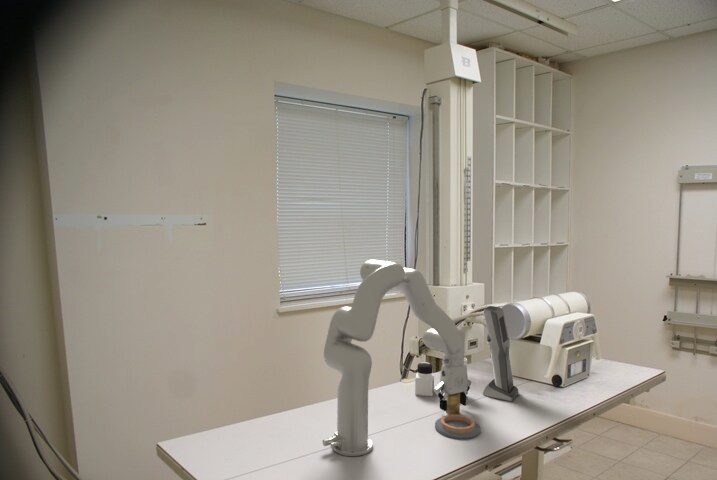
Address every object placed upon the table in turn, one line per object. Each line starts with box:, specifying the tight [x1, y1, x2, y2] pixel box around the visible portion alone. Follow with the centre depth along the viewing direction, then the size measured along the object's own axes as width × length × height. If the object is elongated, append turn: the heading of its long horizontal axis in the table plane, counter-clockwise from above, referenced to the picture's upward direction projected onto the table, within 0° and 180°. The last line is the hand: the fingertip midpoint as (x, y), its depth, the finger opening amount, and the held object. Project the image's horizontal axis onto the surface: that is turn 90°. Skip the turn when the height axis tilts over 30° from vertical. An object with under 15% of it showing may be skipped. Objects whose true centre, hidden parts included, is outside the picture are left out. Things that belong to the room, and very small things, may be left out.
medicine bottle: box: [414, 362, 435, 397], centre depth 187 cm, size 7×7×12 cm
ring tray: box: [434, 414, 481, 440], centre depth 155 cm, size 15×15×2 cm
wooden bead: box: [445, 393, 461, 415], centre depth 168 cm, size 5×5×7 cm
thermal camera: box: [482, 305, 519, 403], centre depth 185 cm, size 12×13×35 cm
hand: (452, 407), depth 168 cm, fingers open, 9 cm apart
